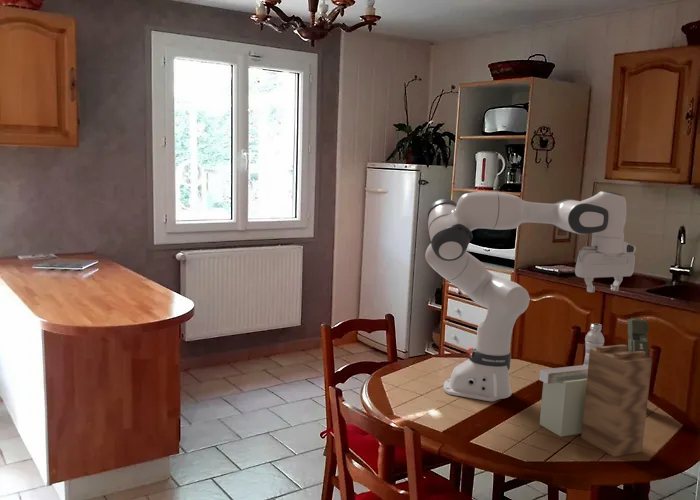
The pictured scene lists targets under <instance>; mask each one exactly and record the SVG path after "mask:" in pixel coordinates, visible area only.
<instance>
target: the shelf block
mask: <svg viewBox="0 0 700 500" xmlns="http://www.w3.org/2000/svg"><path fill="white" fill-rule="evenodd" d="M542 382H543V381H542ZM586 384H587V378H586V379H577V380H569V381H563V382H560V383H551V384H547V383H545V382H543V383H542V391H541V392H542V393H541V405H540V415H539V426H542V427H544V429H547V430H549V431H550V432H552V433H553V434H555V435H557V436H558V437H569V436H573V435H574V436H575V435H579V434H580V435H582V425H583V415H584V405H585V394H586Z"/></svg>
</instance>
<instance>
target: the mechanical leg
mask: <svg viewBox="0 0 700 500" xmlns="http://www.w3.org/2000/svg"><path fill="white" fill-rule="evenodd" d="M649 327H650V326H649V323H648V322H647V320H642V318H640V317H638V318H637V317H629V318H628V319H627V336H628V339H627V343H628V344H627V350H629V351H632V352H635V351H644V352H646V354H645V356H646V357H648V358H649V340H648V339H649V338H648V333H649Z"/></svg>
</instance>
